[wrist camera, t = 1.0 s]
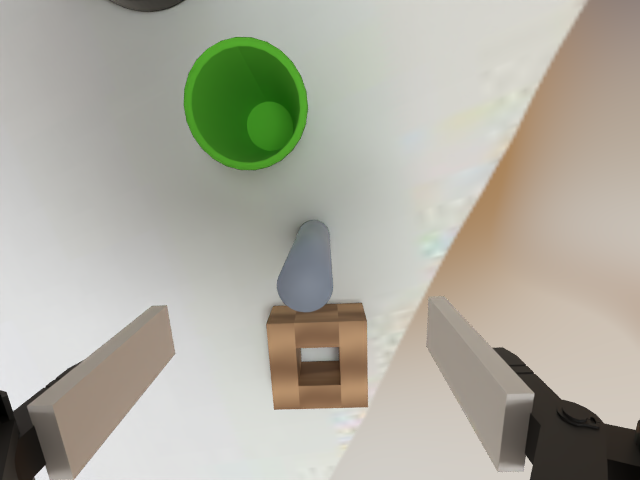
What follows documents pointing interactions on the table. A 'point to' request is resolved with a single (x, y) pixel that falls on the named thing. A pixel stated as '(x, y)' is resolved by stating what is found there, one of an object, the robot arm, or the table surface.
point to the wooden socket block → (321, 376)
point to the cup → (245, 103)
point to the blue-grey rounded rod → (307, 269)
